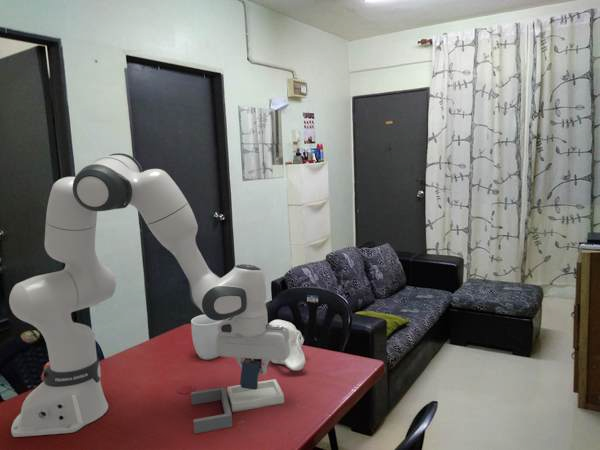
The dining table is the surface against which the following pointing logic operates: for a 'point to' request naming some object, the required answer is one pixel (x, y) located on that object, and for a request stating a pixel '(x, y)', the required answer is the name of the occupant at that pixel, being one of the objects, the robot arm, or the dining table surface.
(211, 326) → the mug
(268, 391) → the tray
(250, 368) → the vaping device
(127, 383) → the dining table surface
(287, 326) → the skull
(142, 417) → the dining table surface
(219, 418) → the bay
